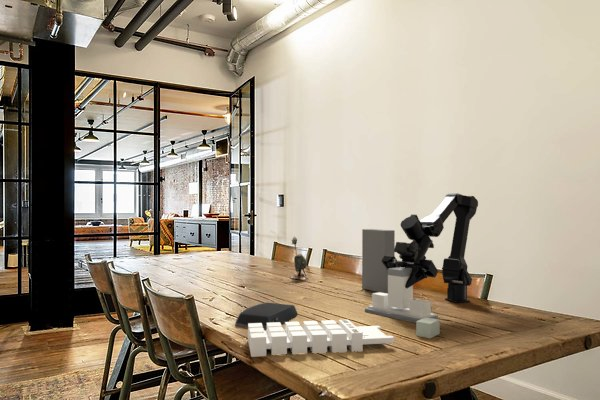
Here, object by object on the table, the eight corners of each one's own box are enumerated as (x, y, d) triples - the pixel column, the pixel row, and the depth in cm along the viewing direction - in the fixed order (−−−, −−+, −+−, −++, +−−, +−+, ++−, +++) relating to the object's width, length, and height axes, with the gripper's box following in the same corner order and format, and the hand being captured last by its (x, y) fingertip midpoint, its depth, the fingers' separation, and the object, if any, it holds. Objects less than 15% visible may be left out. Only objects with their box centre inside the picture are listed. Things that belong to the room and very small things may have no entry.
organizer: (248, 323, 122) (377, 318, 128) (247, 342, 122) (377, 336, 128) (251, 337, 109) (395, 331, 115) (251, 358, 109) (395, 351, 115)
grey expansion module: (397, 303, 156) (397, 267, 156) (412, 306, 151) (412, 269, 151) (387, 306, 152) (387, 268, 152) (403, 309, 148) (403, 270, 148)
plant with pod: (294, 281, 218) (294, 237, 218) (288, 277, 229) (288, 236, 229) (311, 280, 220) (311, 237, 221) (304, 276, 231) (304, 235, 232)
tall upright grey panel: (396, 292, 191) (396, 230, 191) (385, 294, 187) (385, 230, 187) (372, 287, 202) (372, 228, 202) (361, 289, 199) (361, 229, 199)
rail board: (384, 307, 163) (384, 291, 163) (437, 318, 147) (437, 300, 147) (364, 311, 156) (364, 294, 156) (418, 323, 140) (418, 304, 140)
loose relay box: (425, 331, 132) (425, 317, 132) (439, 334, 130) (439, 319, 130) (416, 336, 128) (416, 321, 128) (430, 338, 125) (430, 323, 125)
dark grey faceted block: (232, 326, 138) (232, 312, 138) (263, 312, 156) (263, 300, 156) (272, 331, 133) (272, 316, 133) (300, 316, 151) (300, 303, 151)
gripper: (384, 231, 161) (363, 267, 154) (432, 234, 147) (411, 273, 140) (398, 253, 167) (378, 288, 159) (446, 257, 153) (426, 296, 145)
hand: (397, 286), depth 151 cm, fingers closed on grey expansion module, 6 cm apart
